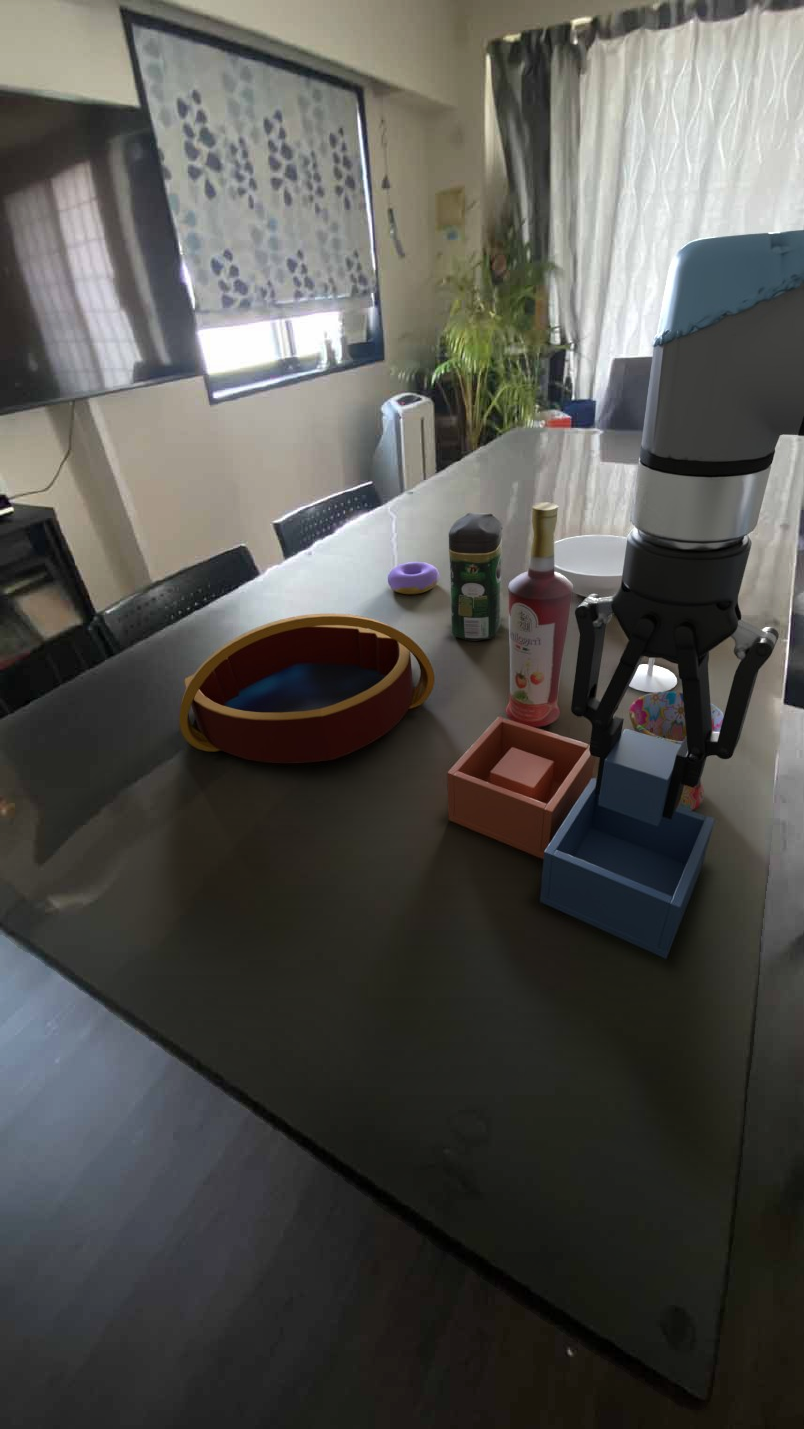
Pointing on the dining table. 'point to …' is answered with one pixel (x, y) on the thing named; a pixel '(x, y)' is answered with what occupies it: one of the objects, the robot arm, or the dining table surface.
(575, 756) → the terracotta bin
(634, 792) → the slate block
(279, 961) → the dining table surface
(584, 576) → the bowl
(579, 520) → the dining table surface
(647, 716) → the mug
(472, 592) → the coffee jar
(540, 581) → the liquor
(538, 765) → the terracotta block
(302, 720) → the decorative basket
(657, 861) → the slate bin
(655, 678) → the wineglass
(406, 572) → the donut
